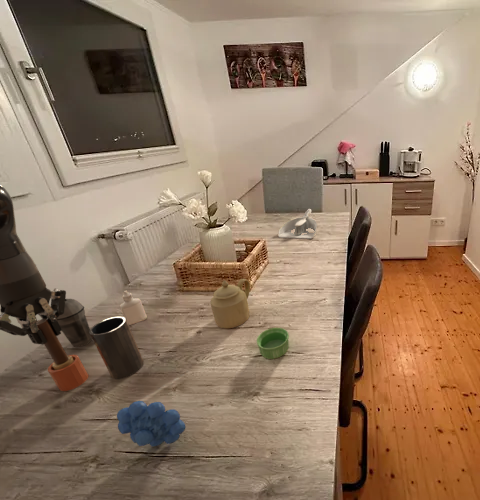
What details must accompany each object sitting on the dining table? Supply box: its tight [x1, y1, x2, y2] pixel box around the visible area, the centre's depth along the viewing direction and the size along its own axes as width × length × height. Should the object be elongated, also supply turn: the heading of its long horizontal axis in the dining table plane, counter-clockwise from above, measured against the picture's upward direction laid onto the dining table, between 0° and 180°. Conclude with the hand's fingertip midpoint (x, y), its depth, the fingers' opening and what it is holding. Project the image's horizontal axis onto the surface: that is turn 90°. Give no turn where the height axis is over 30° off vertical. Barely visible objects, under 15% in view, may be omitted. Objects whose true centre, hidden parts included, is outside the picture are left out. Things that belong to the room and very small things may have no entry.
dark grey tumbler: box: [89, 316, 145, 380], centre depth 73 cm, size 7×7×15 cm
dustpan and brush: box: [277, 208, 318, 240], centre depth 178 cm, size 23×33×10 cm
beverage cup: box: [53, 288, 93, 348], centre depth 82 cm, size 7×7×20 cm
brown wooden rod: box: [36, 318, 74, 370], centre depth 68 cm, size 4×4×19 cm
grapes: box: [116, 400, 187, 447], centre depth 55 cm, size 12×7×12 cm, turn 97°
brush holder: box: [47, 354, 89, 392], centre depth 71 cm, size 6×6×7 cm
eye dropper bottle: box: [119, 290, 148, 326], centre depth 93 cm, size 4×6×12 cm
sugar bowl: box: [209, 278, 251, 329], centre depth 95 cm, size 15×11×15 cm
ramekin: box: [256, 327, 290, 360], centre depth 81 cm, size 9×9×4 cm
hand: (49, 338), depth 67 cm, fingers closed on brown wooden rod, 2 cm apart
